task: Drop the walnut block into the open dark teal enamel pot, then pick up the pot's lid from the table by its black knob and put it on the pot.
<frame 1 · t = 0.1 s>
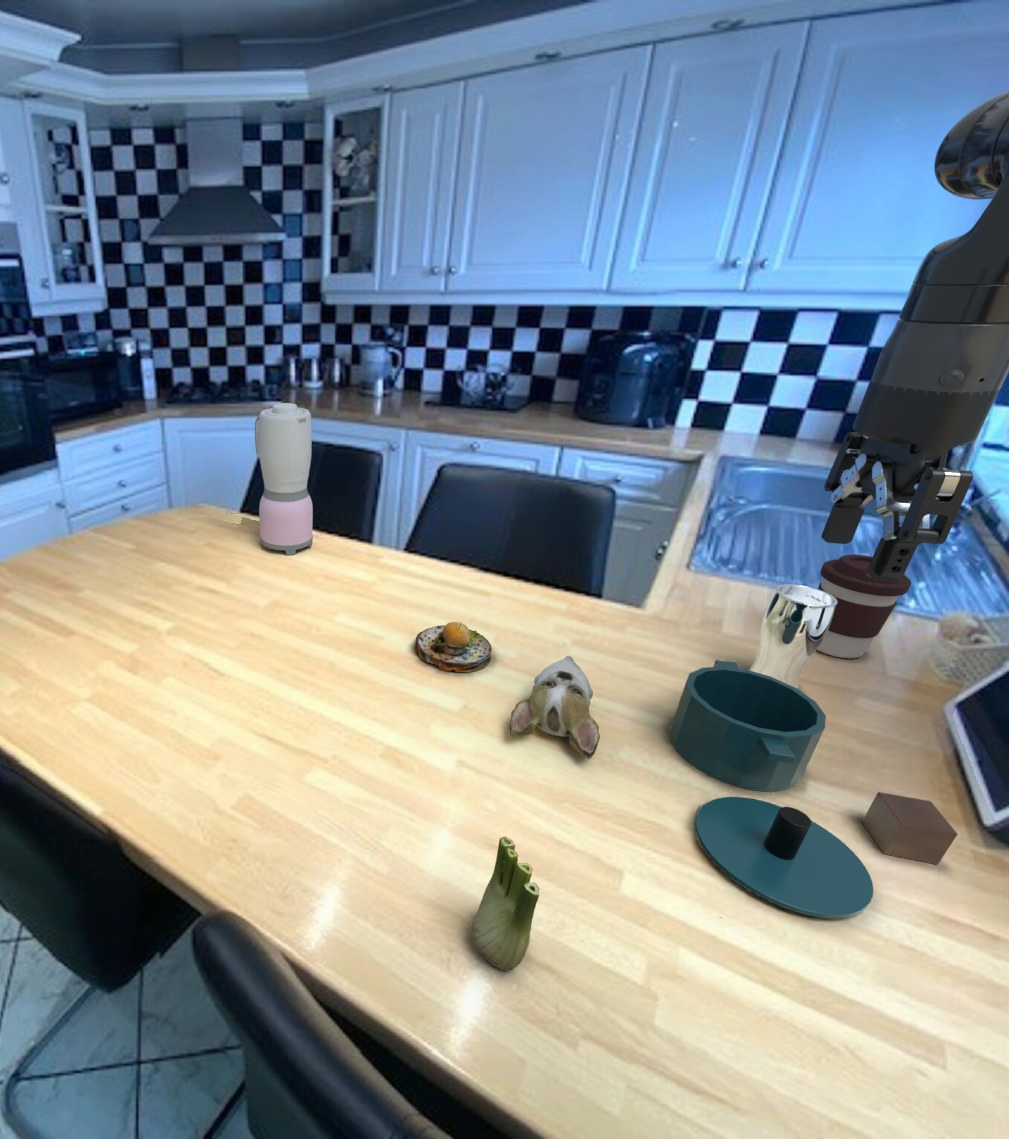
hand: (856, 559, 58), 32 cm above the countertop, tool pointing down, fingers open, 8 cm apart
blender: (281, 543, 146), on the countertop
coffee cup: (832, 648, 100), on the countertop
block: (898, 842, 67), on the countertop
burger: (452, 653, 102), on the countertop
fennel bulb: (496, 949, 58), on the countertop
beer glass: (769, 685, 92), on the countertop
lid: (777, 853, 65), point 1 cm above the countertop
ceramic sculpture: (553, 727, 85), on the countertop
pot: (731, 751, 80), on the countertop
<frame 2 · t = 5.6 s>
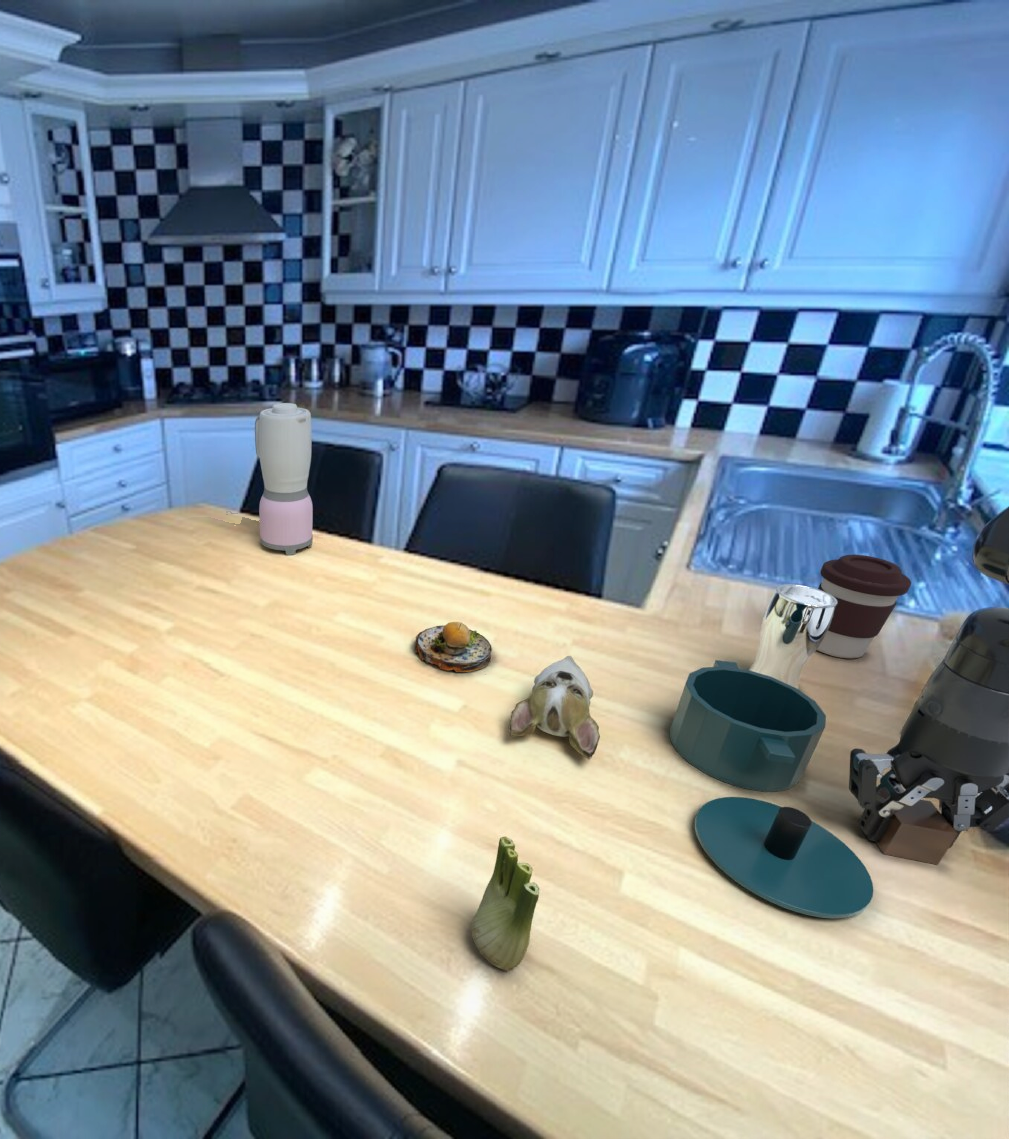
hand: (899, 840, 67), 0 cm above the countertop, tool pointing down, fingers closed on block, 4 cm apart
block: (898, 842, 67), on the countertop, touching gripper
everything else where it was.
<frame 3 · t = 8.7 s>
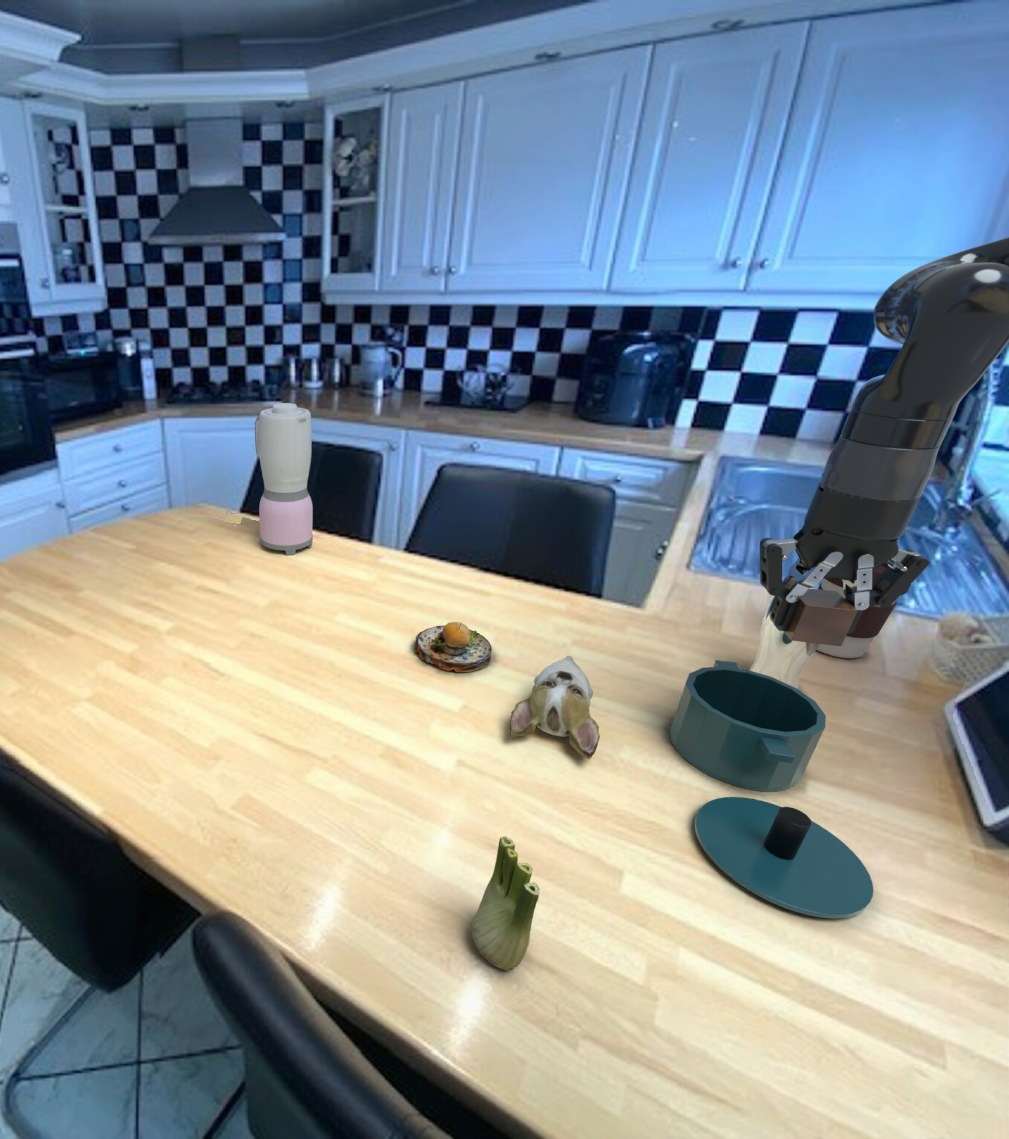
hand: (807, 630, 69), 20 cm above the countertop, tool pointing down, fingers closed on block, 4 cm apart
block: (806, 633, 70), point 19 cm above the countertop, touching gripper
everything else where it was.
when the fingers open (8 cm above the countertop, at t = 11.8 s): block drops 7 cm, resting on pot.
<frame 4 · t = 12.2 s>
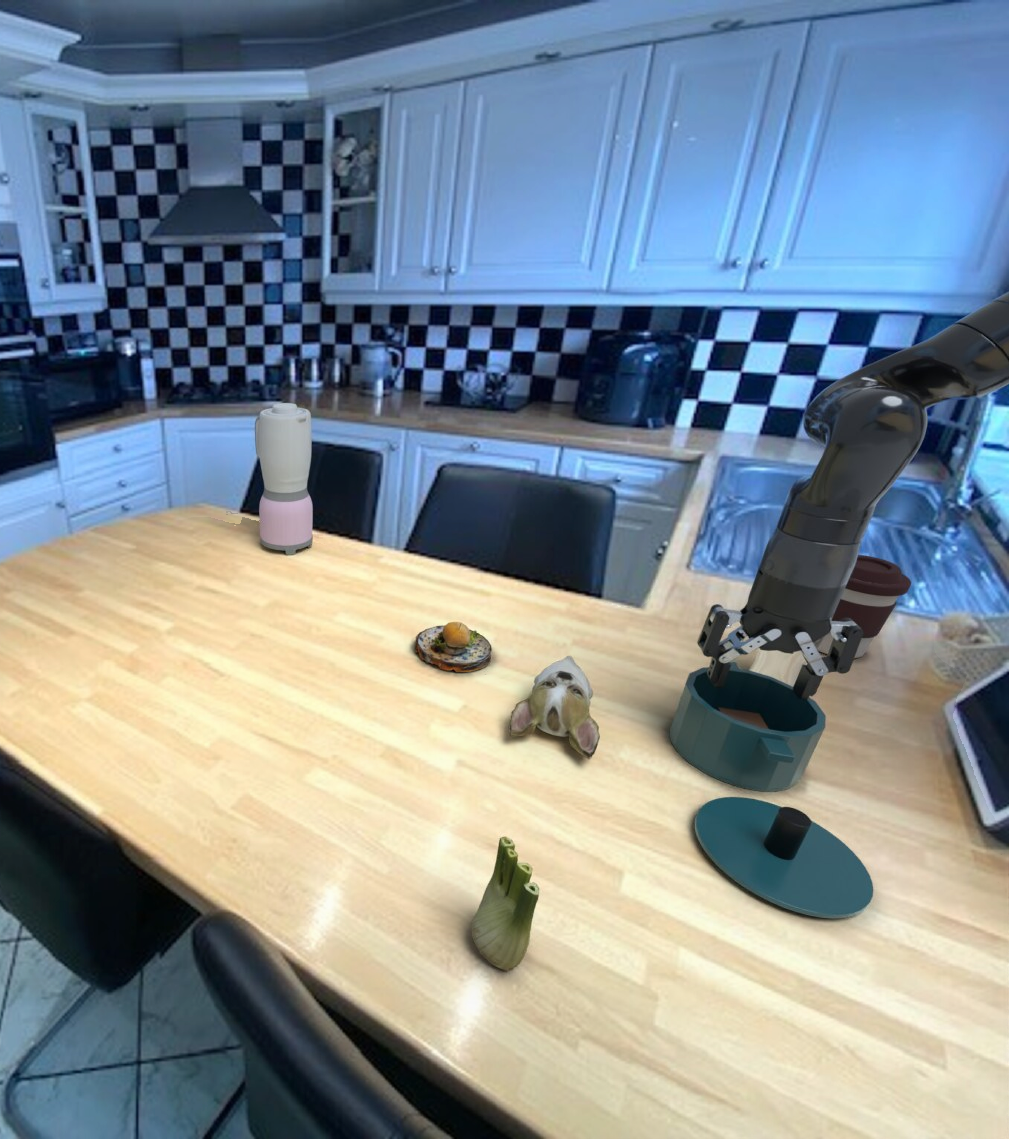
hand: (756, 689, 76), 10 cm above the countertop, tool pointing down, fingers open, 8 cm apart
block: (733, 749, 80), resting on pot
everything else where it was.
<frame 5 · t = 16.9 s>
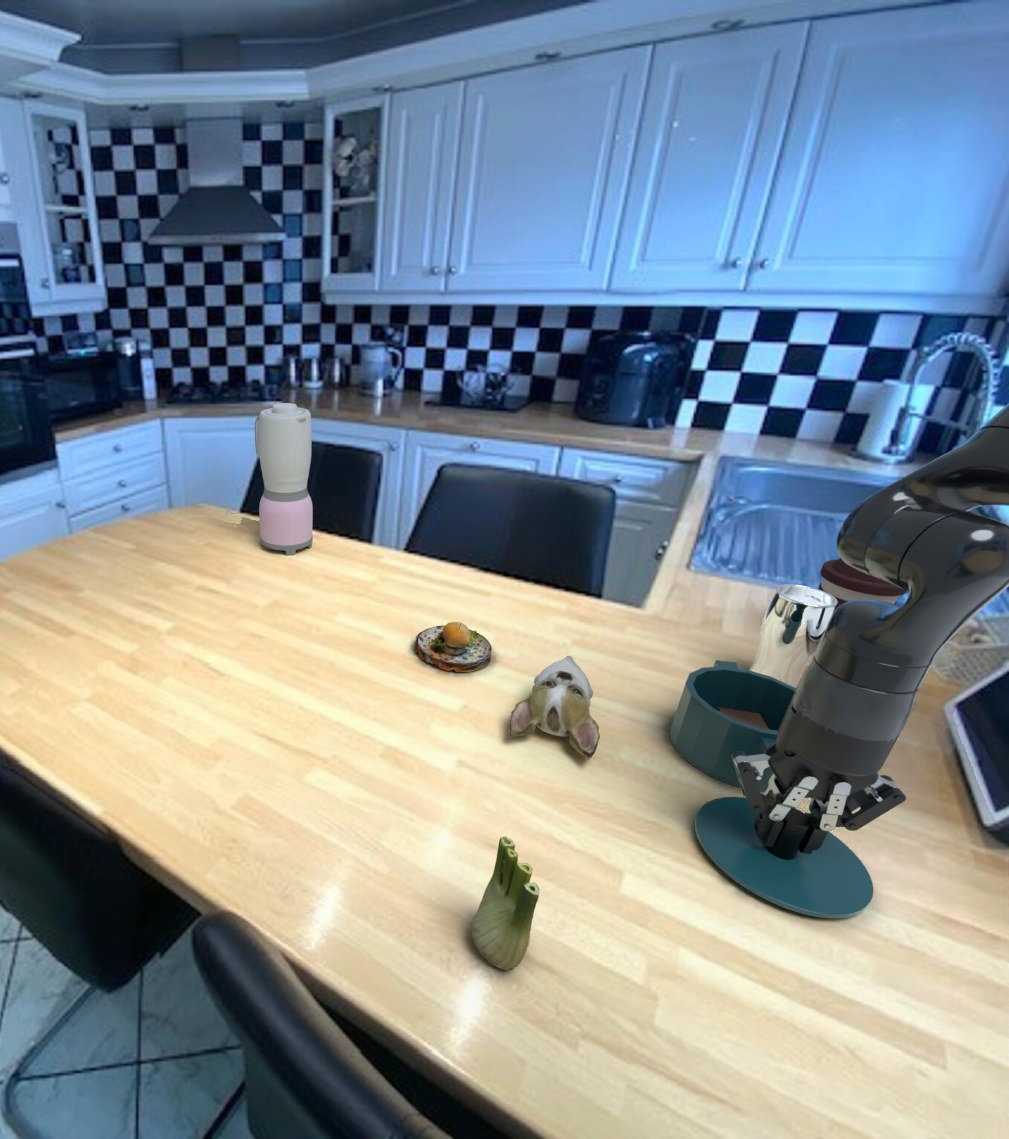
hand: (782, 842, 65), 2 cm above the countertop, tool pointing down, fingers closed on lid, 2 cm apart
lid: (777, 853, 65), point 1 cm above the countertop, touching gripper
everything else where it was.
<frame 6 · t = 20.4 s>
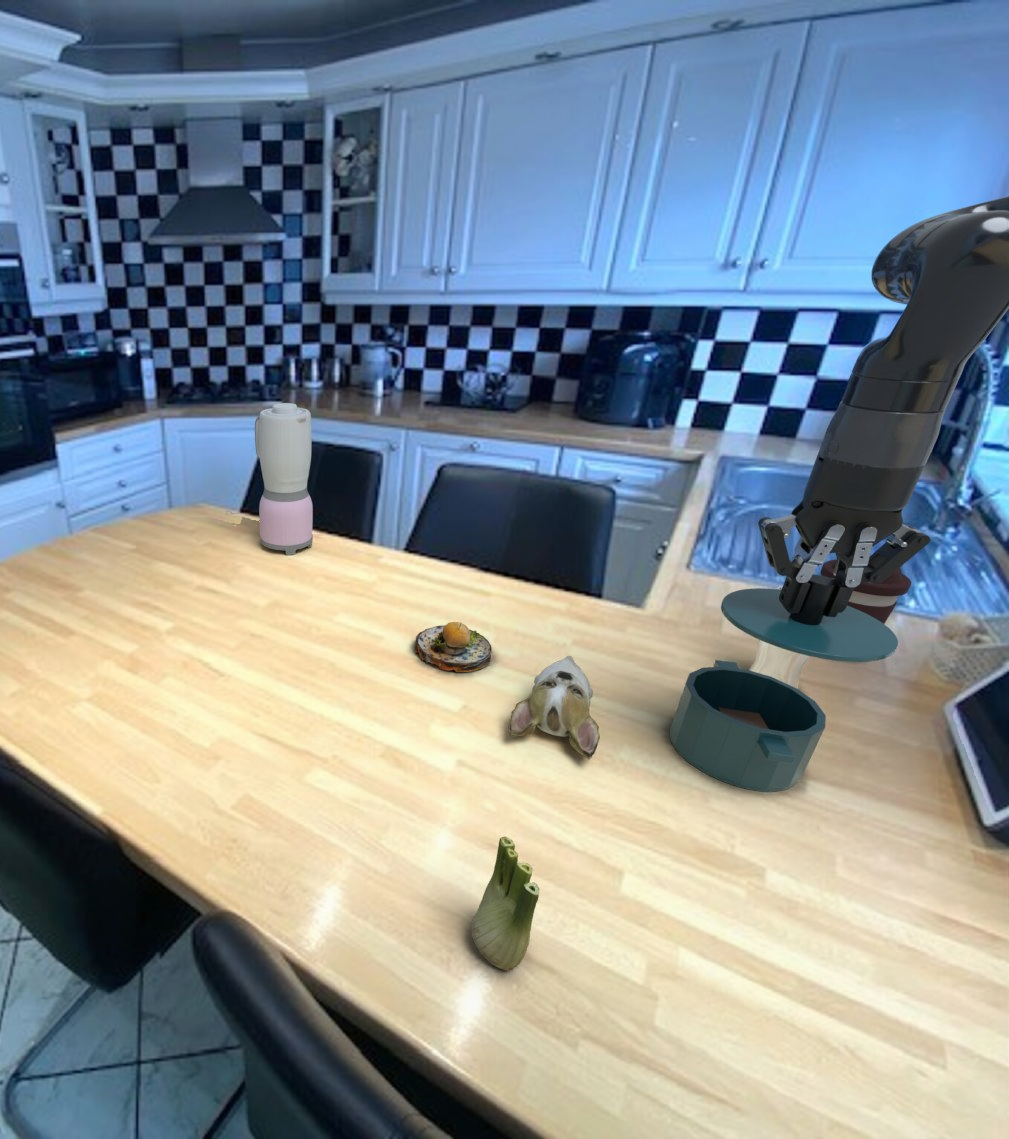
hand: (807, 611, 67), 23 cm above the countertop, tool pointing down, fingers closed on lid, 2 cm apart
lid: (802, 624, 67), point 21 cm above the countertop, touching gripper
everything else where it was.
when the fingers open (10 cm above the countertop, at t = 23.9 s): lid stays where it is, resting on pot.
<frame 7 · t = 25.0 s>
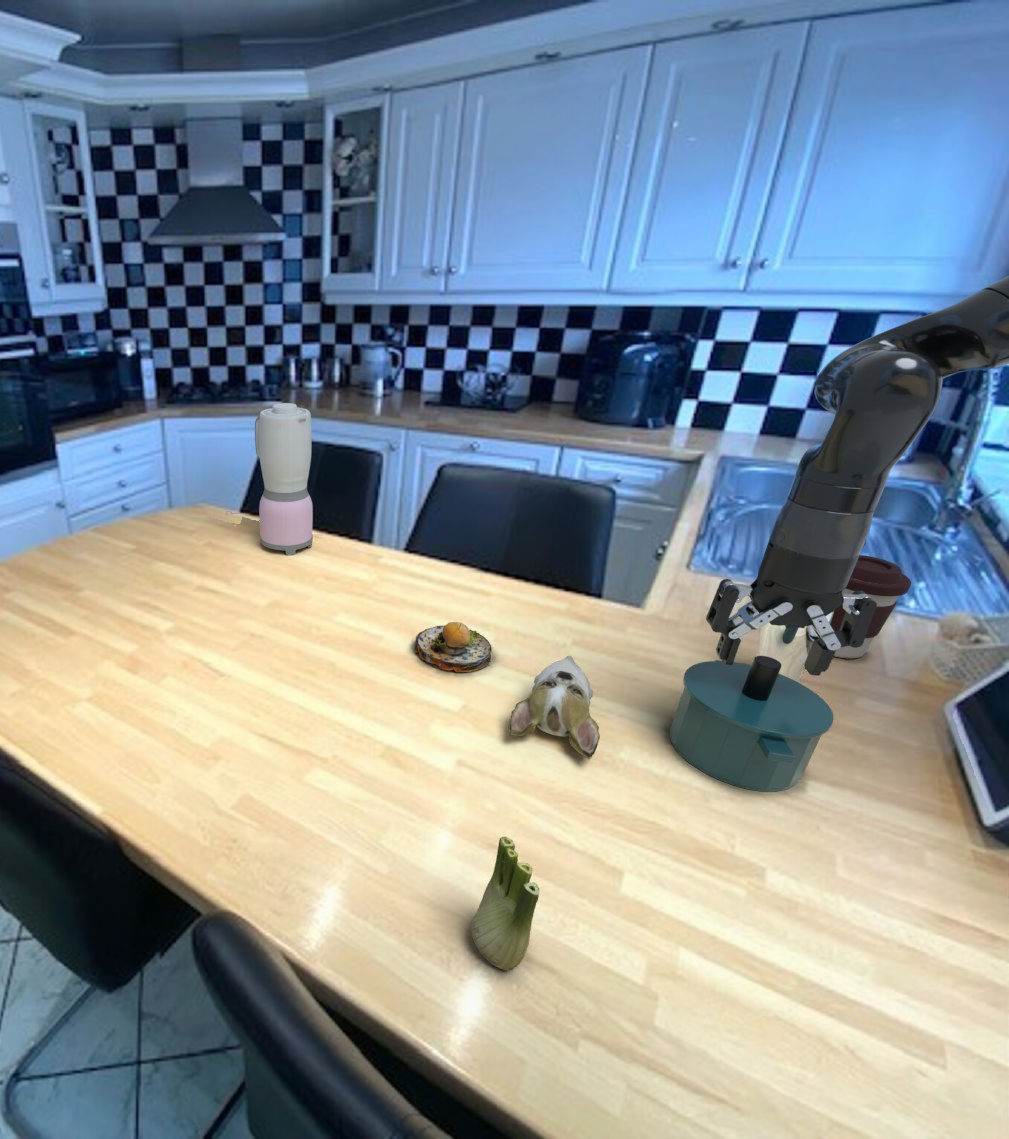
hand: (767, 666, 74), 13 cm above the countertop, tool pointing down, fingers open, 8 cm apart
lid: (753, 698, 76), point 8 cm above the countertop, touching pot
everything else where it was.
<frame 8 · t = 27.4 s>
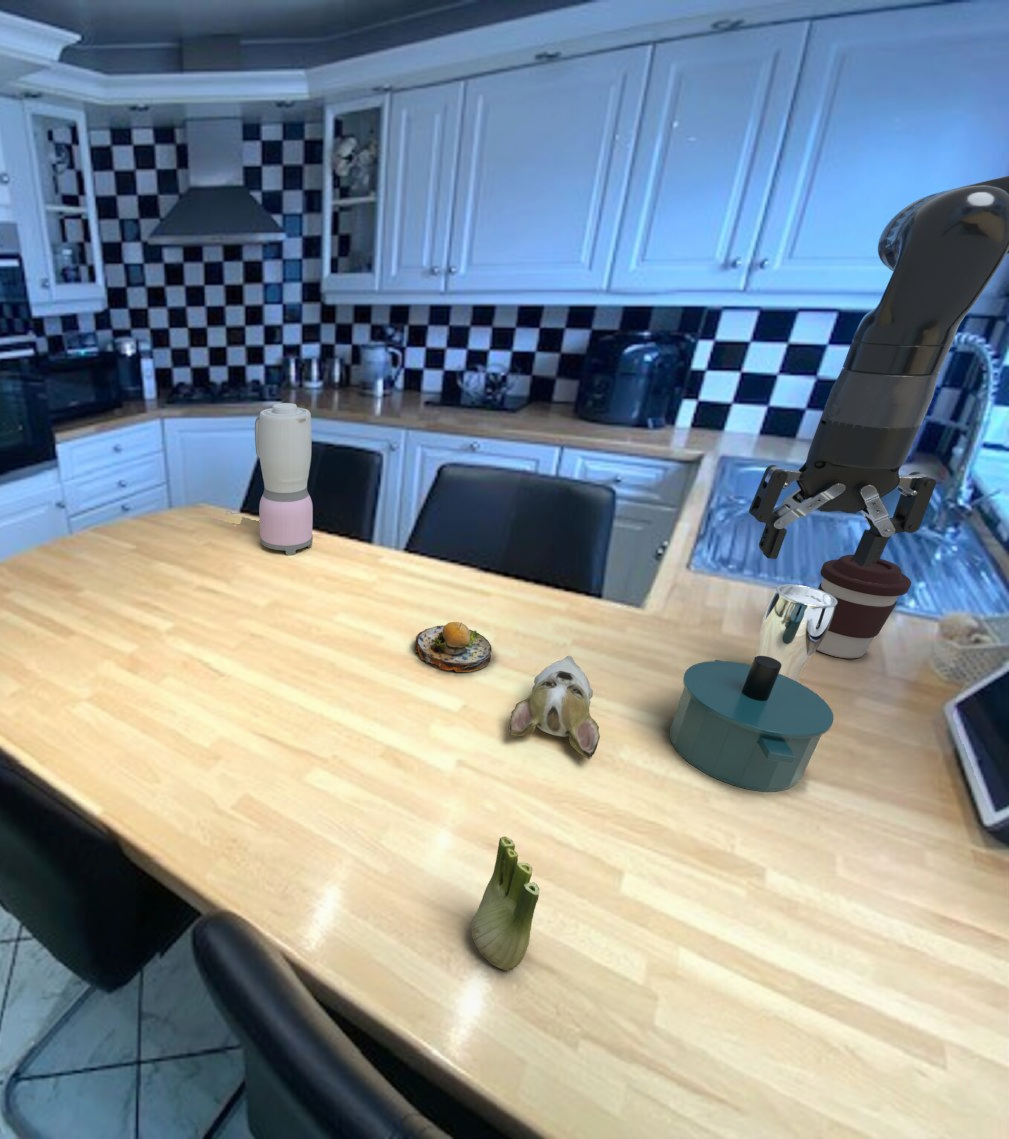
hand: (813, 560, 70), 26 cm above the countertop, tool pointing down, fingers open, 8 cm apart
nothing on the countertop moved.
at the end: block inside the target area in the pot (0.1 cm from its centre), point 0.5 cm above the pot's base; lid 0.1 cm off-centre on the pot, point 8.5 cm above the pot's base; lid tilted 0° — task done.
